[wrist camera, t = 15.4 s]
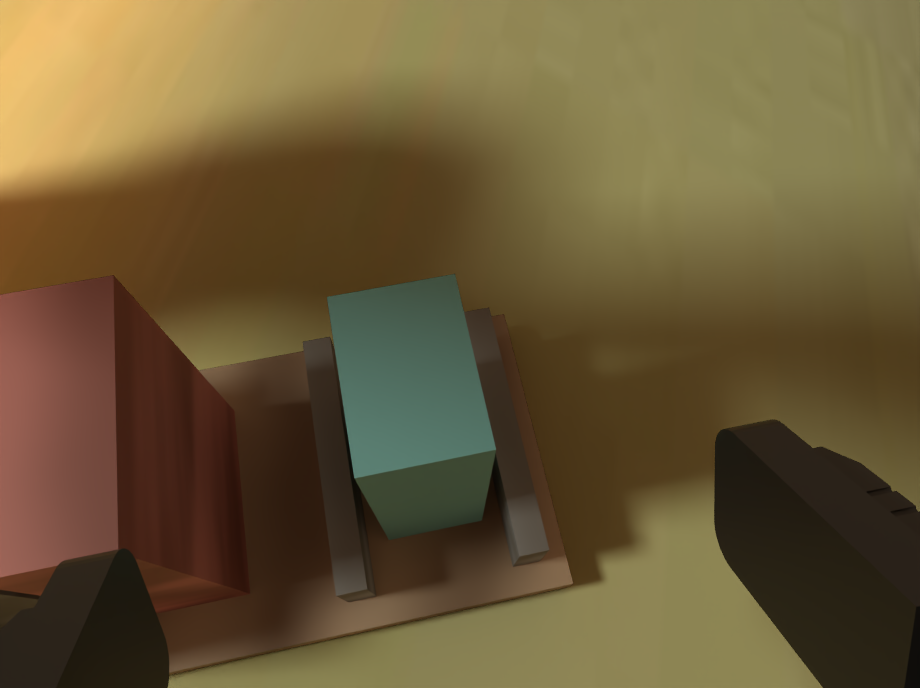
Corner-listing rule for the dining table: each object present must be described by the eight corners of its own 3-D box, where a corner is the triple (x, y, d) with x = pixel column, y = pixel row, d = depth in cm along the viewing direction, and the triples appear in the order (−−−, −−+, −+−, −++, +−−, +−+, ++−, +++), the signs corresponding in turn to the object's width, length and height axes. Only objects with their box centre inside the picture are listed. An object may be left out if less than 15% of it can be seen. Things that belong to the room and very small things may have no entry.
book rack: (22, 707, 26) (-329, 748, 14) (31, 416, 30) (-232, 266, 18) (566, 587, 27) (649, 537, 16) (501, 328, 32) (528, 142, 20)
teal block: (389, 540, 26) (354, 478, 17) (367, 413, 28) (326, 297, 19) (481, 520, 27) (496, 449, 18) (454, 396, 29) (454, 273, 20)
